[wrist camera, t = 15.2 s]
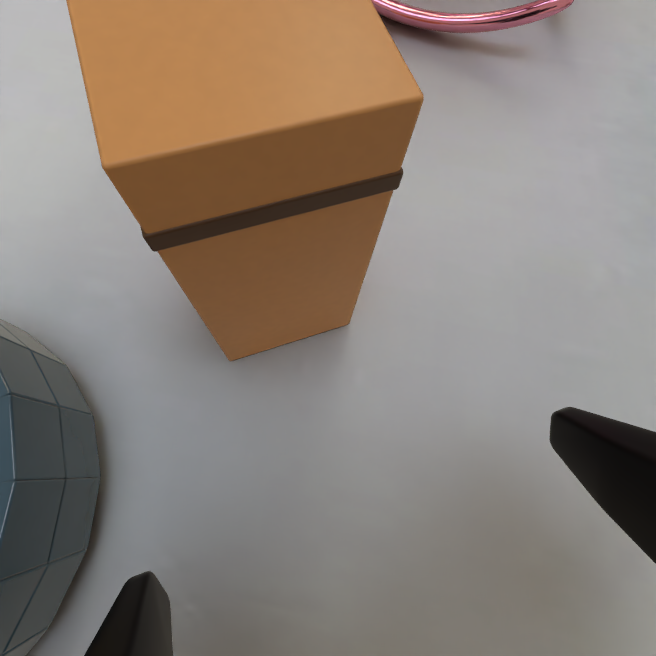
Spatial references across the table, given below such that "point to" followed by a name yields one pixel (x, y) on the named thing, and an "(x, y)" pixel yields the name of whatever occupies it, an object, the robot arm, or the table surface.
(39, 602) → the bowl
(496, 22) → the pink openwork ball
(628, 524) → the robot arm
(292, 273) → the case
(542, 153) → the table surface
